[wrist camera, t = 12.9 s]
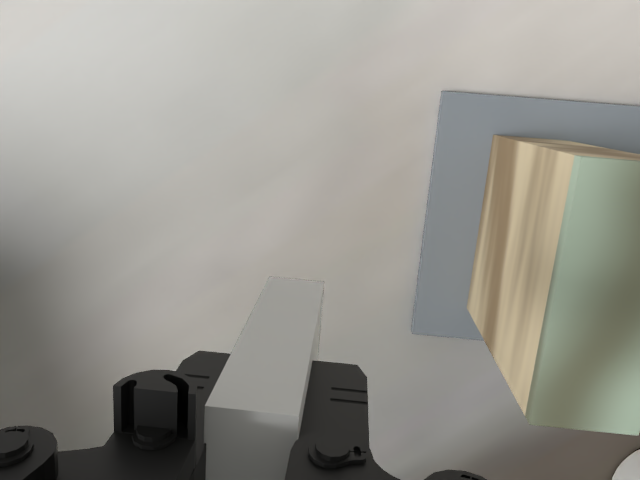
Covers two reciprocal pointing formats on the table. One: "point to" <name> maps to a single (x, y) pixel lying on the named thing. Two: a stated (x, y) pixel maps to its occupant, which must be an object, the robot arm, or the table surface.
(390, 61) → the table surface
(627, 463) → the white tapered cylinder
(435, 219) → the mat
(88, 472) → the robot arm
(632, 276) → the slab
